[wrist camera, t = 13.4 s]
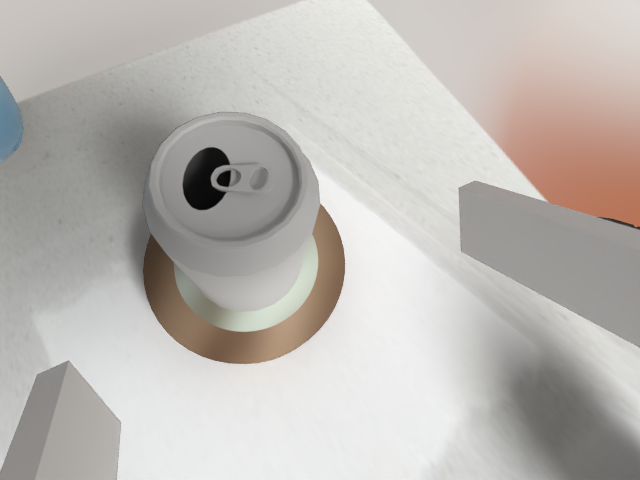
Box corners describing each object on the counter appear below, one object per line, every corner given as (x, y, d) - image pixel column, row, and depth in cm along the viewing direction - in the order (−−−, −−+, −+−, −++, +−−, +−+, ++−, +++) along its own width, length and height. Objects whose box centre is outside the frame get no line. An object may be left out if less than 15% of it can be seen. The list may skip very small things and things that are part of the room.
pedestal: (125, 336, 25) (106, 332, 22) (195, 172, 30) (187, 151, 27) (315, 385, 26) (320, 387, 23) (353, 215, 31) (361, 199, 28)
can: (204, 205, 26) (154, 81, 15) (305, 218, 27) (332, 110, 15) (181, 307, 23) (100, 252, 12) (295, 319, 24) (317, 277, 13)
